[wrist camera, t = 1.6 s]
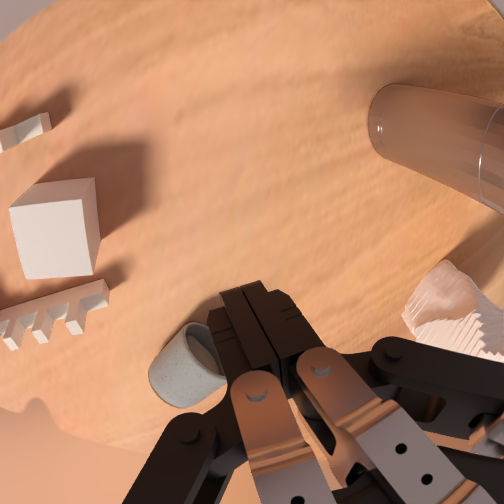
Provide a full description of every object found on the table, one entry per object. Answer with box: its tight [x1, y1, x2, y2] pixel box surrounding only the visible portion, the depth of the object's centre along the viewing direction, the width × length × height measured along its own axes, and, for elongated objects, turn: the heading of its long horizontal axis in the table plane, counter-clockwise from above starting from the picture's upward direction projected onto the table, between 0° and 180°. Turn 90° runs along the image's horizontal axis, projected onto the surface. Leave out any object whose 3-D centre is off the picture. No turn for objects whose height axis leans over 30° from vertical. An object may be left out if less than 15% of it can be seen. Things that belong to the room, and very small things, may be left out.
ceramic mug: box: [148, 322, 227, 408], centre depth 33 cm, size 11×8×8 cm
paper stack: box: [402, 259, 504, 363], centre depth 40 cm, size 21×27×26 cm
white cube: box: [9, 177, 101, 280], centre depth 21 cm, size 6×6×6 cm
